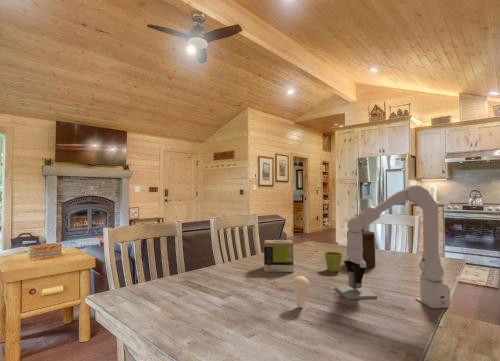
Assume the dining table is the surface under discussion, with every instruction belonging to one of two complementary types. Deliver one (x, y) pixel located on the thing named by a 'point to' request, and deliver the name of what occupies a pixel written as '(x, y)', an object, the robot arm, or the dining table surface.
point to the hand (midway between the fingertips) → (355, 280)
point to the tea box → (278, 256)
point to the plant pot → (333, 261)
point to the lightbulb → (300, 289)
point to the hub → (353, 280)
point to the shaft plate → (355, 292)
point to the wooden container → (367, 247)
